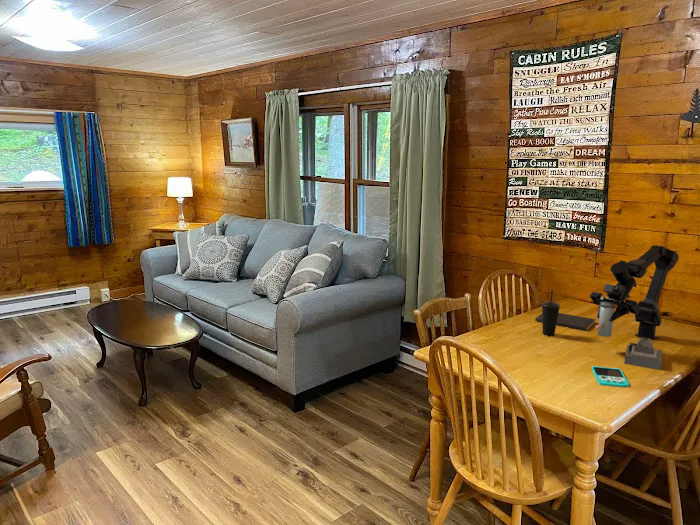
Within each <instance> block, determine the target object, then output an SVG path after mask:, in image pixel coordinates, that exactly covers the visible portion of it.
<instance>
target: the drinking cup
mask: <svg viewBox="0 0 700 525" xmlns="http://www.w3.org/2000/svg"><path fill="white" fill-rule="evenodd" d="M553 293H554V289H553V290H552V289H551V290H550V299H549V300H550V301H549V300H548V301H544V302H541V309H542V310H541V311H542V312H541V314H542V323H541V324H542V335H543V334H544V335H543V336H545V335H547V336H546V337H554V336H555V334H556V329H557V326H556V323H557V318H558V313H560V307H561V305H560V303H558V302H555V301H553V296H554V295H553Z"/></svg>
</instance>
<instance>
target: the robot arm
mask: <svg viewBox="0 0 700 525" xmlns="http://www.w3.org/2000/svg"><path fill="white" fill-rule="evenodd" d="M679 260H680V255H679V254H678V252H677V251H675V250H671V249H669V248H667V247H666V246H663V245H658V244H657V245H656V244H655V245H651V247H650V248H649V249H648V250H647V251H646V252H644V253H643V254H642V255H640V256H639V257H638V258H637V259H632V260H629V261H626V260H619V262H616V263H614V264H612V265H611V267H610V272H611V273H612V275H613V277H614V279H615V281H617V283H616V285H615V284H610V283H605V285H604V287H603V290H602V292H605V293H606V294H605V296H604V294H603V293H601V292H598V291H592V292H590V295H589V298H590V299H591V301H592V302H593V304H594V305H598V309H597V315H596V316H597V319H599V316H600V302H603V301H606V302H613V303H615V306H616V309H614V313H613V315H612V317H611V318H610V322H612V321H613V322H614V321H616V320H617V319H619V318H621V317H622V316H623V317H624V316H626V315H630V314H632V315H633V314H634V318H635V320H634V321H635V322H637V323H639V326H638V328H637V330H638V332H637V333H635V334H634V336H636V337H639V338H642V337H647V338H650V339H651V340H653V339H658V338H659V337H658V336H657V335H656V331H657V330H656V329H657V327H660V326H661V325H662V321H663V320H662V318H661V316H660V307H659V304H658V303H659V300H660V297H661V294H662V291H663V288H664V285H665V283H666V280H667V276H668V273H669V272H670V271H671V270H672V269H674V268H675V267H676V264H677V262H678V261H679ZM652 264H654V266H655V270H654V273H653V275H652V278H651V281H650V284H649V286H648V289H647V292H646V295H645V299H643V300H642V301H641V300H639V301H636V300H632V299H629V298H630V297H631V295H630V293H631V292H632V290H633V288H637V286H638V284H637V280H636V279H642V278H643V277H644V276H645V275H646V274H647V269H648V268H649V267H650V266H651V265H652ZM606 296H607V297H606Z"/></svg>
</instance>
